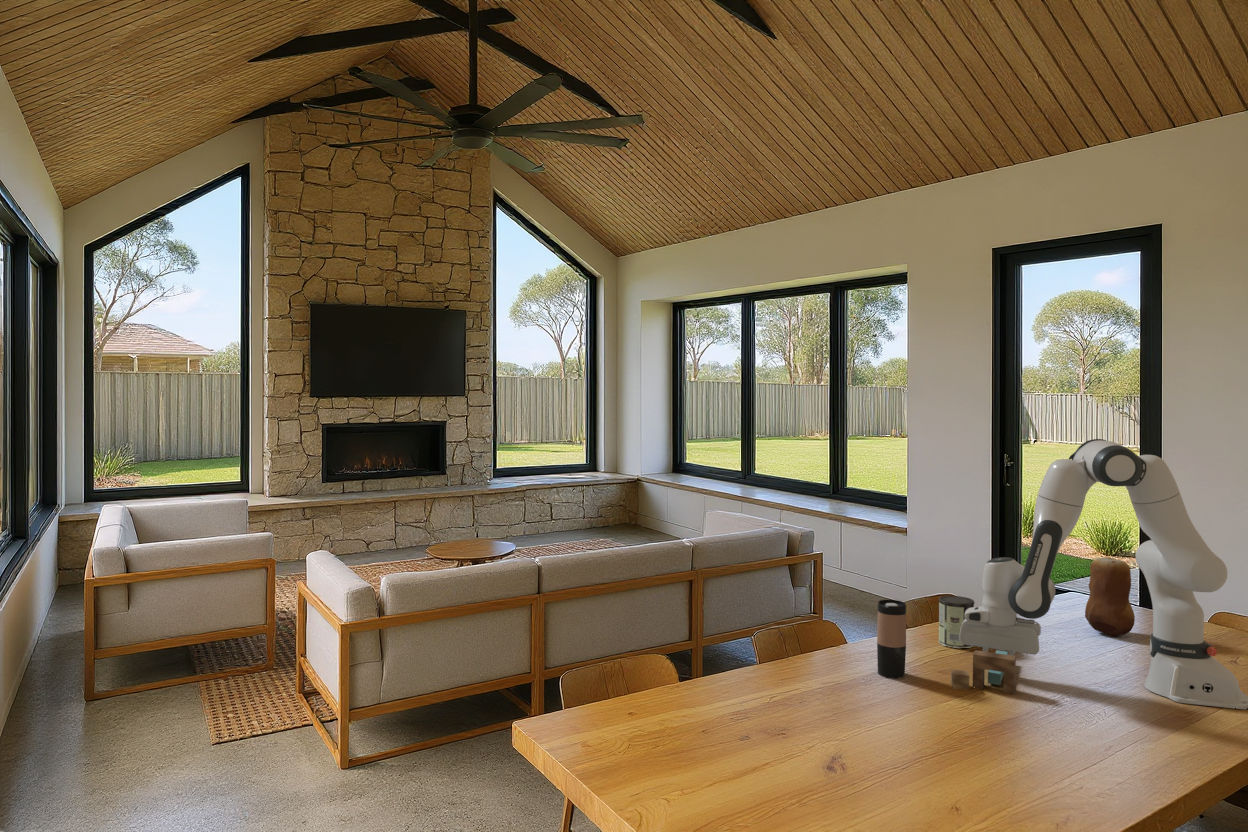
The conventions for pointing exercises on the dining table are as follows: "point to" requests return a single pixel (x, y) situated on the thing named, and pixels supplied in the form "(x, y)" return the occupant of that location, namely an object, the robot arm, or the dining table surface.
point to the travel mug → (891, 638)
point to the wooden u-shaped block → (994, 668)
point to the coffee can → (952, 619)
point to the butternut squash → (1110, 597)
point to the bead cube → (959, 679)
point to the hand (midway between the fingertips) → (998, 664)
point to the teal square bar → (996, 673)
